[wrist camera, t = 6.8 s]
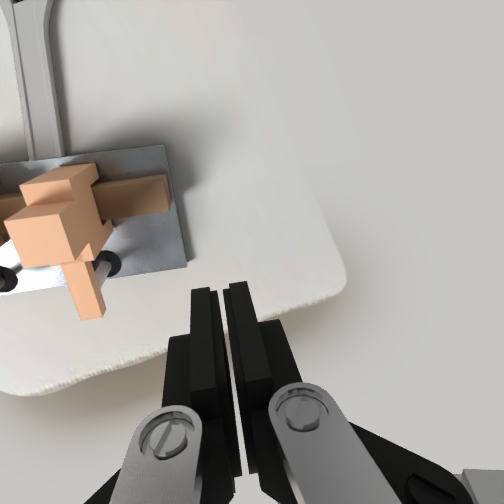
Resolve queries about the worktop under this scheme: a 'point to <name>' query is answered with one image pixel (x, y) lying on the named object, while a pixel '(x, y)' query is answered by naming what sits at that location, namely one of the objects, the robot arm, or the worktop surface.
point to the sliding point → (64, 232)
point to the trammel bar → (107, 200)
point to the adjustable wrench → (35, 76)
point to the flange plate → (125, 229)
